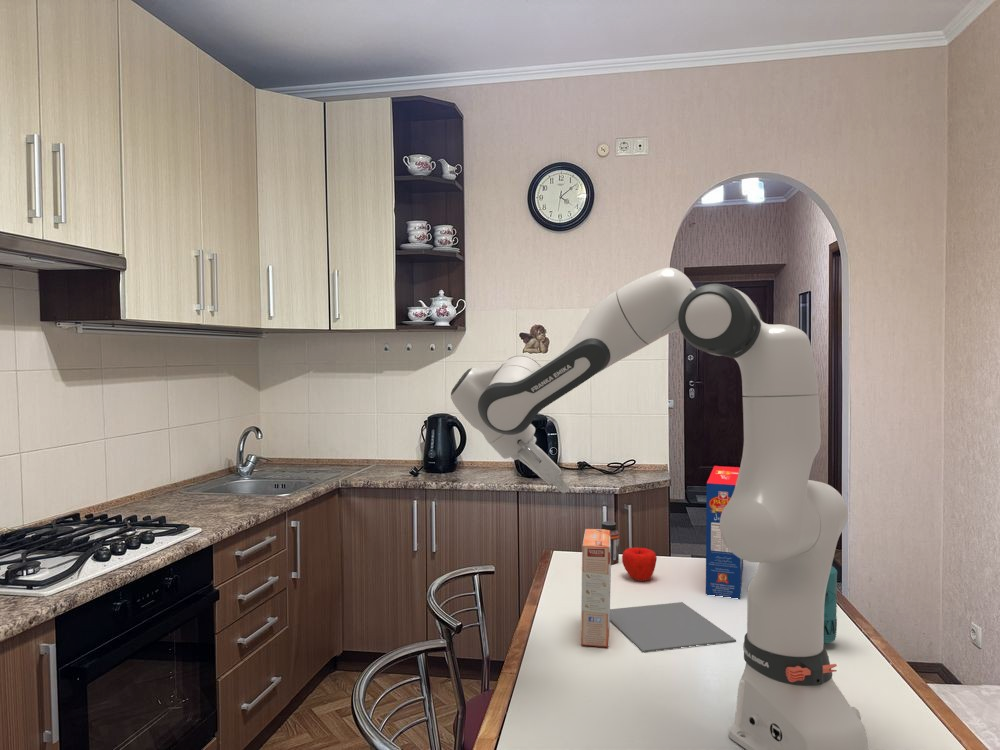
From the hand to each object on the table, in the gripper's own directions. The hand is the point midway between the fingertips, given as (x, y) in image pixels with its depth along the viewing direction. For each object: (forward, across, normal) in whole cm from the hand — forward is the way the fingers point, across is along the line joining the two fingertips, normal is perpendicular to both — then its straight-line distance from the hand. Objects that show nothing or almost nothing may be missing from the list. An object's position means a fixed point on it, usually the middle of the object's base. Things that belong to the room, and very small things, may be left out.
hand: (559, 485), depth 135 cm
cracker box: (+31, +3, +16) cm, 35 cm away
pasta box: (+62, +29, -16) cm, 71 cm away
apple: (+47, +34, 0) cm, 58 cm away
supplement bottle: (+46, +50, +3) cm, 68 cm away
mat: (+41, +4, +4) cm, 42 cm away
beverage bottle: (+60, -11, -16) cm, 63 cm away
